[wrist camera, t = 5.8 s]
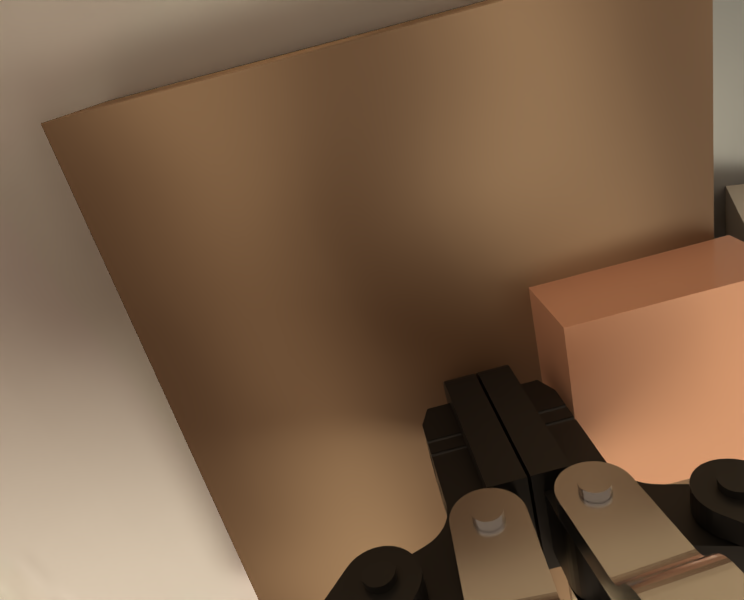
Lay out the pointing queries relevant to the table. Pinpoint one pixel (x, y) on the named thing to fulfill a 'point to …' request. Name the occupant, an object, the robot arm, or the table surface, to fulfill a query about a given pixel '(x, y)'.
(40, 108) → the table surface
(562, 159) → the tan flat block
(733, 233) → the tile
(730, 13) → the bin
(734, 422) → the tile
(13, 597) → the table surface
